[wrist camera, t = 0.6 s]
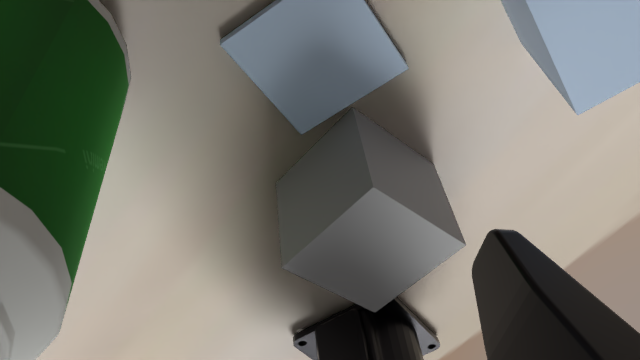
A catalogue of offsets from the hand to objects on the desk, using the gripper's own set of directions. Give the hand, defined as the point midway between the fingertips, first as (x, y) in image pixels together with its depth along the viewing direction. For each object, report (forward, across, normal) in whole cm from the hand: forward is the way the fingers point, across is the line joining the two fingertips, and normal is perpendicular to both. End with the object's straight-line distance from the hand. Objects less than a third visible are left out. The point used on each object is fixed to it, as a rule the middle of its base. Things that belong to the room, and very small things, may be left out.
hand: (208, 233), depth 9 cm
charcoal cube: (+13, -6, +9) cm, 17 cm away
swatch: (+13, -3, +3) cm, 14 cm away
